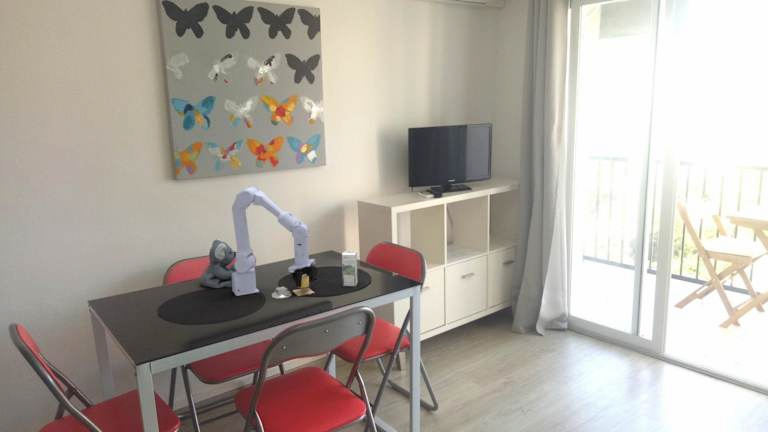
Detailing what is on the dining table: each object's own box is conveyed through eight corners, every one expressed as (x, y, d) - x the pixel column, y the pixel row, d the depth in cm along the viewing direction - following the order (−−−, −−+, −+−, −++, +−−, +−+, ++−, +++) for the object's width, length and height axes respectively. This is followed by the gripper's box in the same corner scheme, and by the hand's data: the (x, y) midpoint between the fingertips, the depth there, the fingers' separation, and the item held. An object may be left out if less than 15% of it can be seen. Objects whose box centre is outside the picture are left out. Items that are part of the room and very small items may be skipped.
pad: (298, 296, 221) (298, 295, 221) (292, 291, 227) (292, 290, 227) (314, 293, 224) (314, 292, 224) (308, 288, 231) (308, 287, 230)
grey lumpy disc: (275, 300, 217) (274, 292, 217) (269, 294, 224) (268, 287, 224) (294, 296, 221) (293, 289, 220) (287, 290, 228) (287, 284, 227)
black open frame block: (318, 279, 243) (317, 264, 241) (305, 283, 238) (304, 268, 237) (305, 274, 250) (304, 260, 248) (292, 278, 245) (291, 263, 244)
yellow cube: (304, 288, 222) (303, 277, 221) (294, 286, 224) (294, 276, 223) (311, 285, 226) (311, 274, 225) (301, 283, 229) (301, 272, 228)
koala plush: (245, 286, 234) (242, 242, 230) (202, 292, 228) (198, 247, 224) (240, 275, 250) (237, 234, 246) (199, 280, 243) (196, 238, 239)
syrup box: (357, 282, 237) (357, 250, 234) (355, 287, 232) (355, 254, 229) (344, 282, 238) (344, 250, 235) (342, 286, 232) (341, 254, 229)
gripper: (297, 258, 214) (298, 291, 217) (320, 250, 226) (321, 281, 229) (283, 256, 218) (285, 288, 221) (307, 248, 230) (308, 278, 233)
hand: (303, 284), depth 225 cm, fingers closed on yellow cube, 5 cm apart
